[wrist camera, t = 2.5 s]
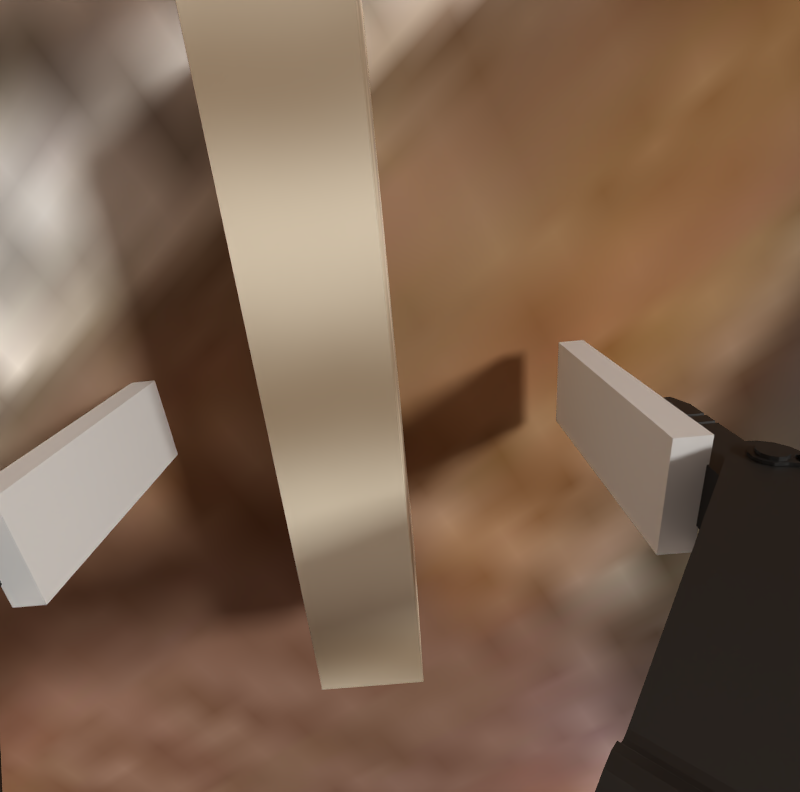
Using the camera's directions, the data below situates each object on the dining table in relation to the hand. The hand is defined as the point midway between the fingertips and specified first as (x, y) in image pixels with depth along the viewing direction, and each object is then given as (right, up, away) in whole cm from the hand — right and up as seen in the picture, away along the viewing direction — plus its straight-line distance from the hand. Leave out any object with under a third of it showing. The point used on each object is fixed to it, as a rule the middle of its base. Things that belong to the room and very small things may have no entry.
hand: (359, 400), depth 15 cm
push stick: (0, +2, +1) cm, 2 cm away
